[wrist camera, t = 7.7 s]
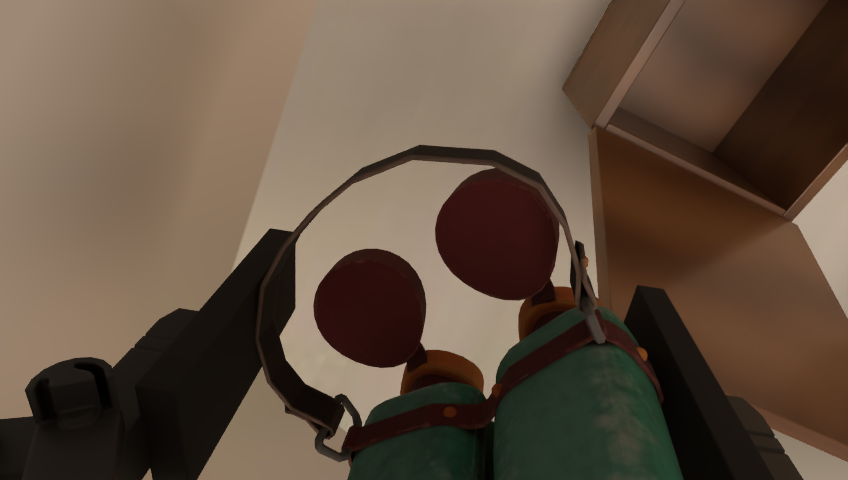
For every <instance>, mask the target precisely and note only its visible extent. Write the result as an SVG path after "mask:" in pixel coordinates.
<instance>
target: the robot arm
mask: <svg viewBox="0 0 848 480" xmlns="http://www.w3.org/2000/svg"><path fill="white" fill-rule="evenodd" d="M292 233H293V232H290V231H284V230H277V229H271V228H270V229H269V230H268V231H267V233H266V234H265V235H264V236H263V237H262V238H261V240H260V241H259V242H258V243H257V244H256V245H255V247H254V248H253V249H252V250H251V251H250V252H249V253H248V255H247V256H246V257H245V258H244V259H243V260H242V262H241V263H240V264H239V265H238V266H237V267H236V269H235V270H234V271H233V272H232V273H231V274H230V276H229V277H228V278H227V279H226V280H225V281H224V283H223V284H222V285H221V286H220V287H219V288H218V289H217V291H216V292H215V293H214V294H213V295H212V296H211V298H210V299H209V300H208V301H207V302H206V303H205V305H204V306H203V307H202V308H201V309H200V311H194V310H187V309H181V308H179V309H177V310H175V311H173V312H172V313H170V314H168V315H166V316H165V317H162V318H161V319H159V320H158V321H157V322H156V323H155V324H154V325H153V326H152V328H150V330H149V331H148V332H147V333H146V335H145V336H143V337H142V338H141V339H140V340H139V341H138V342H137V343H136V344H135V347H134V348H131V349H130V350H129V351H128V353H127V354H126V355H125V356H124V357H123V358H122V359H121V360H120V361H119V362H118V363H117V364H116V365H115V366H114V367H113V368H112V366H111V365H109V364H108V363H107V362H105V361H104V360H101V359H97V358H92V357H87V358H74V359H70V360H66V361H62V362H59V363H57V364H54V365H53V366H50V367H48V368H46V369H44V370H43V371H41V372H40V373H39V374H38V375H36V376H35V377H34V378H33V379H31V381H30V382H29V384H28V386H27V387H26V389H25V392H26V395H27V398H28V401H29V404H30V407H31V410H32V413H33V416H32V417H21V418H10V419H0V480H142V479H143V477H144V476H145V474H146V473H147V471H148V470H149V469H150V468H151V473H152V478H153V480H197V479H198V477H199V475H200V473H201V472H202V470H203V468H204V466H205V465H206V463H207V461H208V460H209V458H210V456H211V454H212V453H213V451H214V449H215V447H216V445H217V444H218V442H219V440H220V439H221V437H222V435H223V433H224V432H225V430H226V428H227V426H228V425H229V423H230V421H231V420H232V418H233V416H234V414H235V412H236V411H237V409H238V407H239V406H240V404H241V402H242V400H243V398H244V397H245V395H246V393H247V392H248V390H249V388H250V386H251V385H252V383H253V381H254V379H255V378H256V376H257V374H258V373H259V371H260V369H261V367H262V363H261V360H260V357H259V353H258V350H257V347H256V343H255V326H256V317H257V308H258V299H259V290H260V286H261V284H262V282H263V280H264V278H265V276H266V274H267V272H268V270H269V268H270V267H271V265H272V263H273V261H274V259H275V257H276V255H277V253H278V251H279V249H280V248H281V246H282V245H283V243H284V242H285V241H286V240H287V239H288V238H289V236H290V235H291V234H292ZM294 310H295V245H294V247H293V249H292V251H291V253H290V255H289V256H288V258H287V260H286V262H285V264H284V266H283V268H282V269H281V272H280V280H279V288H278V295H277V303H276V311H275V323H276V326H277V330H278V334H279V336H280V334H281V332H282V331H283V329H284V327H285V326H286V324H287V322H288V320H289V319H290V317H291V315H292V313H293V312H294ZM623 323H624V324H625V325H626V327H627V328H628V330H629V331H630V332H631V334H632V335H633V336H634V338H635V339H636V340H637V342H638V344H639V346H640V348H643V349H644V350H646V352H647V354H648V356H647V359H648V360H649V362H650V363H651V364H652V367H653V369H654V372H655V374H656V376H657V379H658V381H659V384H660V387H661V390H662V393H663V396H664V401H663V403H662V405H661V408H662V411H663V414H664V418H665V421H666V424H667V427H668V431H669V434H670V437H671V440H672V444H673V447H674V450H675V453H676V457H677V460H678V463H679V466H680V469H681V473H682V476H683V479H684V480H803V478H802V477H801V475H800V474H799V472H798V471H797V469H796V467H795V466H794V464H793V463H792V461H791V460H790V458H789V456H788V455H786V454H785V453H784V452H785V450H784V449H783V447H782V445H781V444H780V442H779V441H778V440H777V439H776V438H775V437H774V436H775V435H774V433H773V431H772V430H771V428H770V427H769V425H768V424H767V422H766V420H765V419H764V417H763V416H762V415H761V414H760V413H759V412H758V411H757V410H756V409H755V408H754V407H753V406H751V405H750V404H749V403H748V402H747V401H746V400H745V399H744V398H742V397H735V396H729V395H725V393H724V391H723V390H722V388H721V386H720V384H719V383H718V381H717V379H716V378H715V376H714V374H713V372H712V371H711V369H710V367H709V365H708V364H707V362H706V360H705V359H704V357H703V355H702V353H701V352H700V350H699V348H698V347H697V345H696V343H695V341H694V340H693V338H692V336H691V335H690V333H689V331H688V329H687V328H686V326H685V324H684V322H683V321H682V319H681V317H680V316H679V314H678V312H677V310H676V309H675V307H674V305H673V304H672V302H671V300H670V298H669V297H668V295H667V293H666V292H665V290H664V289H661V288H654V287H648V286H641V285H637V287H636V290H635V293H634V295H633V298H632V301H631V303H630V306H629V309H628V312H627V314H626V317H625V320H624V322H623Z"/></svg>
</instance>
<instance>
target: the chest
mask: <svg viewBox="0 0 848 480" xmlns="http://www.w3.org/2000/svg"><path fill="white" fill-rule="evenodd" d="M562 89H563V91H564V92H565V93H566V95H567V96H568V97H569V99H570V100H571V102H572V103H573V104H574V106H575V107H576V109H577V110H578V112H579V113H580V114H581V116H582V117H583V119H584V120H585V121H586V123H587V124H588V126H589V127H590V128H591V129H592V130H593V128H594V127H595V126H597V127H599V128H601V129H603V130H605V131H607V132H609V133H611V134H613V135H615V136H617V137H619V138H621V139H623V140H625V141H627V142H629V143H631V144H633V145H635V146H637V147H639V148H641V149H644V150H646V151H648V152H650V153H652V154H654V155H656V156H658V157H660V158H662V159H664V160H666V161H668V162H670V163H672V164H674V165H676V166H678V167H680V168H682V169H684V170H686V171H688V172H690V173H692V174H694V175H696V176H698V177H701V178H703V179H705V180H707V181H709V182H711V183H713V184H715V185H717V186H719V187H721V188H723V189H725V190H727V191H729V192H731V193H733V194H735V195H737V196H739V197H741V198H743V199H745V200H747V201H749V202H751V203H753V204H755V205H758V206H760V207H762V208H764V209H766V210H768V211H770V212H772V213H774V214H776V215H778V216H780V217H782V218H784V219H786V220H788V221H790V222H792V221H793V220H794V218H795V217H796V216H797V215H798V214H799V213H800V212H801V211H802V210H803V208H804V207H805V206H806V205H807V204H808V203H809V202H810V201H811V200H812V199H813V197H814V196H815V195H816V194H817V193H818V192H819V191H820V190H821V189H822V188H823V186H824V185H825V184H826V183H827V182H828V181H829V180H830V179H831V178H832V176H833V175H834V174H835V173H836V172H837V171H838V170H839V169H840V168H841V167H842V165H843V164H844V163H845V162H846V161H847V160H848V0H612V1H611V3H610V5H609V7H608V8H607V10H606V12H605V14H604V16H603V17H602V19H601V21H600V23H599V24H598V26H597V28H596V30H595V31H594V33H593V35H592V37H591V38H590V40H589V42H588V44H587V45H586V47H585V49H584V51H583V52H582V54H581V56H580V58H579V59H578V61H577V63H576V65H575V66H574V68H573V70H572V72H571V73H570V75H569V77H568V79H567V80H566V82H565V84H564V86H563V87H562Z"/></svg>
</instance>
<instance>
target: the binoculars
mask: <svg viewBox="0 0 848 480" xmlns="http://www.w3.org/2000/svg"><path fill="white" fill-rule="evenodd" d="M411 160H422V161H436V162H449V163H462V164H476V165H489V166H493V167H495V168H494V169H489V170H483V171H480V172H478V173H476V174H473V175H471V176H470V177H468V178H467V179H466V180H464V181H463V182H462V183H461V184H460V185H459V186H458V187H457V188H456V190H455V191H454V192H453V193H452V195H451V196H450V197H449V198H448V199H447V201H446V202H445V203H444V204H443V206H442V208H441V210H440V212H439V214H438V217H437V222H436V227H435V235H436V243H437V247H438V251H439V253H440V255H441V257H442V259H443V261H444V263H445V264H446V266H447V267H448V268H449V269H450V271H451V272H452V273H453V274H454V275H455V276H456V277H458V278H459V279H460V280H461V281H462V282H464V283H465V284H467V285H468V286H470V287H472V288H473V289H475V290H477V291H479V292H481V293H484V294H486V295H488V296H491V297H495V298H499V299H503V300H522V299H525V301H524V303H523V304H522V306H521V308H520V312H519V321H518V330H519V339H520V342H519V343H517V344H516V345H515V346H513V347H512V348H511V349H509V351H508V352H507V354H506V355H505V356H504V358H503V359H502V361H501V363H500V365H499V367H498V370H497V374H496V384H495V385H494V386H493V387H492V393H491V395H490V396H489V398H488V399H487V400H486V398H485V396H484V394H483V386H484V379H483V375H482V373H481V371H480V369H479V368H478V367H477V366H476V365H475V364H474V363H472V362H471V361H469V360H467V359H466V358H464V357H462V356H459V355H457V354H454V353H451V352H448V351H442V350H426V351H425V349H424V347H423V345H422V344H421V342H420V340H421V337H422V333H423V328H424V323H425V316H426V299H425V292H424V289H423V285H422V282H421V280H420V278H419V276H418V275H417V273H416V271H415V270H414V269H413V268H412V267H411V265H410V264H409V263H408V262H406V261H405V260H404V259H402V258H401V257H400V256H398V255H396V254H394V253H391V252H389V251H385V250H380V249H363V250H359V251H354V252H352V253H350V254H348V255H346V256H344V257H343V258H342V259H341V260H340V261H338V262H337V263H336V264H335V265H334V266H333V268H332V269H331V270H330V271H329V272H328V273H327V275H326V276H325V277H324V279H323V280H322V281H321V283H320V284H319V286H318V289H317V291H316V294H315V299H314V306H313V307H314V317H315V320H316V323H317V326H318V329H319V331H320V332H321V334H322V336H323V337H324V339H325V340H326V341H327V342H328V343H329V344H330V345H331V346H332V347H333V348H334V349H335V350H337V351H338V352H339V353H341V354H342V355H344V356H346V357H348V358H350V359H351V360H353V361H355V362H358V363H361V364H364V365H367V366H373V367H379V368H387V367H395V366H398V365H401V364H404V363H405V362H406V363H407V365H406V367H405V370H404V374H403V379H402V384H401V390H400V396H398V397H395V398H392V399H389V400H386V401H384V402H382V403H381V404H379V405H377V406H376V407H375V408H374V409H372V410H371V412H370V414H369V416H368V418H367V420H366V422H365V425H364V426H363V427H362V421H361V418H360V415H359V413H358V411H357V410H356V409H355V407H354V406H353V405H352V403H351V402H350V400H349V399H348V398H347V396H345V395H343V394H339V395H337V396H335V398H332V397H331V396H329V395H327V394H324V393H322V392H320V391H318V390H316V389H314V388H312V387H310V386H308V385H306V384H305V383H304V382H303V381H302V379H301V378H300V377H299V376H298V374H297V373H296V372H295V371H294V369H293V368H292V367H291V366H290V364H289V363H288V362H287V361H286V359H285V355H284V352H283V348H282V344H281V341H280V337H279V334H278V330H277V326H276V323H275V311H276V303H277V295H278V288H279V280H280V272H281V269H282V268H283V266H284V264H285V262H286V260H287V258H288V256H289V255H290V253H291V251H292V249H293V247H294V245H295V244H296V242H297V240H298V238H299V236H300V234H301V233H302V232H303V230H304V229H305V228H306V227H307V226H308V225H309V223H310V222H311V221H312V220H313V219H314V218H315V216H316V215H317V214H318V213H319V212H320V211H321V210H322V209H323V208H324V207H325V206H326V205H328V204H329V203H330V202H331V201H332V200H334V199H335V198H336V197H337V196H338V195H340V194H341V193H342V192H343V191H345V190H346V189H347V188H348V187H349V186H351V185H352V184H353V183H356V182H358V181H361V180H363V179H366V178H368V177H371V176H374V175H376V174H379V173H381V172H384V171H386V170H389V169H391V168H394V167H396V166H399V165H401V164H404V163H406V162H409V161H411ZM559 222H560V224H561V226H562V227H563V229H564V232H565V236H566V239H567V243H568V246H569V250H570V253H571V271H570V283H571V287H572V288H569V287H554V286H553V284H552V282H551V279H550V277H551V274H552V272H553V269H554V267H555V261H556V255H557V248H558V242H559ZM587 266H588V258H587V257H586V256H585V250H584V244H582V243H581V242H579V241H575V247H574V244H573V240H572V237H571V233H570V230H569V226H568V223H567V220H566V217H565V214H564V211H563V209H562V208H561V206H560V205H559V203H558V202H557V200H556V198H555V197H554V195H553V194H552V192H551V191H550V189H549V188H548V186H547V184H546V183H545V181H544V180H543V178H542V177H541V175H540V174H539V173H538V172H536V171H534V170H532V169H531V168H529V167H527V166H525V165H523V164H521V163H519V162H517V161H515V160H513V159H511V158H509V157H507V156H505V155H503V154H501V153H499V152H497V151H495V150H484V149H470V148H455V147H441V146H427V145H418V146H416V147H413V148H411V149H408V150H406V151H403V152H401V153H398V154H396V155H393V156H391V157H388V158H386V159H383V160H381V161H378V162H376V163H373V164H371V165H368V166H366V167H363V168H361V169H360V170H359V171H358V172H357V173H355V174H354V175H353V176H352V177H351V178H349V179H348V180H347V181H346V182H345V183H343V184H342V185H341V186H340V187H338V188H337V189H336V190H335V191H334V192H332V193H331V194H330V195H329V196H328V197H326V198H325V199H324V200H323V201H322V202H321V203H320V204H319V205H317V206H316V207H315V208H314V209H313V210H312V211H311V212H310V213H309V214H308V215H307V216H306V218H305V219H304V220H303V221H302V222H301V223H300V225H299V226H298V227H297V228H296V229H295V230H294V232H293V233H292V234H291V235H290V236H289V238H288V239H287V240H286V241H285V242H284V243H283V245H282V246H281V248H280V249H279V251H278V253H277V255H276V257H275V259H274V261H273V263H272V265H271V267H270V268H269V270H268V272H267V274H266V276H265V278H264V280H263V282H262V284H261V286H260V290H259V299H258V308H257V317H256V326H255V343H256V347H257V350H258V353H259V357H260V360H261V363H262V367H263V370H264V373H265V377H266V380H267V383H268V384H269V385H270V386H271V388H272V389H273V390H274V391H275V393H276V394H277V395H278V396H279V398H280V399H281V400H282V401H283V402H284V404H285V412H286V413H288V414H292V415H295V416H297V417H299V418H301V419H303V420H305V421H307V423H308V424H309V425H310V426H311V427H312V428H313V429H314V431H315V432H316V433H317V436H316V438H315V448H316V450H317V451H318V452H319V453H320V454H323V455H325V456H327V457H329V458H331V459H334V460H336V461H338V462H341V461H345V460H348V462H349V466H350V468H351V469H350V473H349V476H348V479H347V480H684V479H683V476H682V473H681V469H680V466H679V463H678V460H677V457H676V453H675V450H674V447H673V444H672V440H671V437H670V434H669V431H668V427H667V424H666V421H665V418H664V414H663V411H662V408H661V405H662V403H663V401H664V396H663V393H662V390H661V387H660V384H659V381H658V379H657V376H656V374H655V372H654V369H653V367H652V364H651V363H650V362H649V360H648V359H647V356H648V354H647V352H646V350H644V349H643V348H640V346H639V344H638V342H637V340H636V339H635V338H634V336H633V335H632V334H631V332H630V331H629V330H628V328H627V327H626V325H625V324H624V323H623V322H622V321H621V320H620V319H619V318H618V317H617V316H616V315H615V314H614V313H613V312H612V311H610V310H609V309H607V308H605V307H604V305H603V304H602V302H601V301H600V300H599V299H598V298H596V297H595V294H594V291H593V288H592V285H591V281H590V279H589V277H588V275H587V270H586V267H587ZM341 403H342V404H343V405H344V406H343V405H342V404H341ZM344 407H345V408H346V409H347V411H348V412H349V414H350V415H351V416H352V419H353V426H351V427H350V428H349V430H348V433H347V435H346V438H345V440H344V443H343V445H342V452H340V453H338V452H337V451H335V450H333V449H331V448H329V447H327V446H325V445H324V444H323V441H324V439H328V440H329V439H330V438H332V437H333V436H334V435H335V433H336V430H337V428H338V426H339V424H340V421H341V419H342V416H343V414H344V412H345V409H344ZM494 416H495V419H494V422H493V421H491V420H492V419H493V417H494Z"/></svg>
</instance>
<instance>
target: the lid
mask: <svg viewBox="0 0 848 480" xmlns="http://www.w3.org/2000/svg"><path fill="white" fill-rule="evenodd" d="M588 143H589V159H590V174H591V190H592V205H593V220H594V236H595V251H596V267H597V282H598V297H599V300H600V301H601V302H602V304H603V305H604V307H605V308H607V309H609V310H610V311H612V312H613V313H614V314H615V315H616V316H617V317H618V318H619V319H620V320H621V321H622V322H624V320H625V317H626V314H627V312H628V309H629V306H630V303H631V301H632V298H633V295H634V293H635V290H636V287H637V285H641V286H648V287H654V288H661V289H664V290H665V292H666V293H667V295H668V297H669V298H670V300H671V302H672V304H673V305H674V307H675V309H676V310H677V312H678V314H679V316H680V317H681V319H682V321H683V322H684V324H685V326H686V328H687V329H688V331H689V333H690V335H691V336H692V338H693V340H694V341H695V343H696V345H697V347H698V348H699V350H700V352H701V353H702V355H703V357H704V359H705V360H706V362H707V364H708V365H709V367H710V369H711V371H712V372H713V374H714V376H715V378H716V379H717V381H718V383H719V384H720V386H721V388H722V390H723V391H724V393H725V395H729V396H735V397H742V398H744V399H745V400H746V401H747V402H748V403H749V404H750V405H751V406H753V407H754V408H755V409H756V410H757V411H758V412H759V413H760V414H761V415H762V416H763V417H764V419H765V420H766V422H767V424H768V425H769V427H770V428H772V429H774V430H776V431H779V432H781V433H783V434H785V435H788V436H790V437H792V438H795V439H797V440H799V441H801V442H804V443H806V444H808V445H810V446H813V447H815V448H817V449H820V450H822V451H824V452H827V453H829V454H831V455H833V456H836V457H838V458H840V459H842V460H845V461H847V462H848V319H847V317H846V315H845V313H844V311H843V309H842V308H841V306H840V304H839V302H838V300H837V298H836V296H835V295H834V293H833V291H832V289H831V287H830V285H829V283H828V281H827V280H826V278H825V276H824V274H823V272H822V270H821V268H820V267H819V265H818V263H817V261H816V259H815V257H814V255H813V253H812V252H811V250H810V248H809V246H808V244H807V242H806V240H805V239H804V237H803V235H802V233H801V231H800V229H799V227H798V225H796V224H794V223H792V222H790V221H788V220H786V219H784V218H782V217H780V216H778V215H776V214H774V213H772V212H770V211H768V210H766V209H764V208H762V207H760V206H758V205H755V204H753V203H751V202H749V201H747V200H745V199H743V198H741V197H739V196H737V195H735V194H733V193H731V192H729V191H727V190H725V189H723V188H721V187H719V186H717V185H715V184H713V183H711V182H709V181H707V180H705V179H703V178H701V177H698V176H696V175H694V174H692V173H690V172H688V171H686V170H684V169H682V168H680V167H678V166H676V165H674V164H672V163H670V162H668V161H666V160H664V159H662V158H660V157H658V156H656V155H654V154H652V153H650V152H648V151H646V150H644V149H641V148H639V147H637V146H635V145H633V144H631V143H629V142H627V141H625V140H623V139H621V138H619V137H617V136H615V135H613V134H611V133H609V132H607V131H605V130H603V129H601V128H599V127H597V126H595V127H594V128H593V130H592V131H591V132H590V134H589V135H588Z"/></svg>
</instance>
